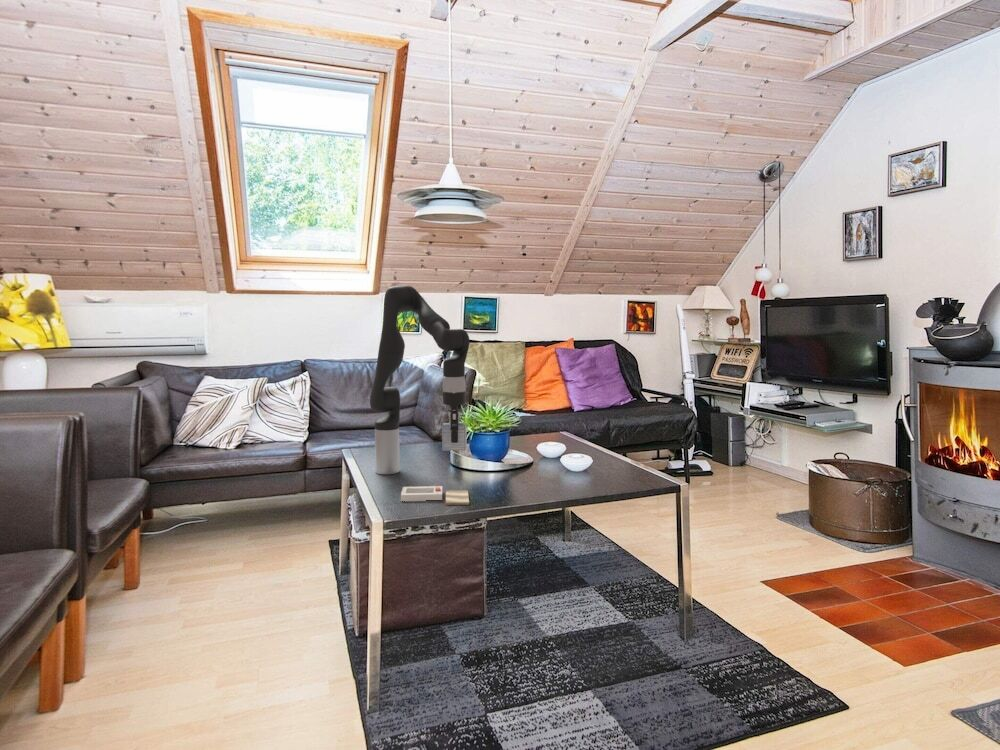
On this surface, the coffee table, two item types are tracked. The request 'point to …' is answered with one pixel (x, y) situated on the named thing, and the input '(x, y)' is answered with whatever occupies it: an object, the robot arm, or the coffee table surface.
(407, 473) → the coffee table surface
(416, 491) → the power strip
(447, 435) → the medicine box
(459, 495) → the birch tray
